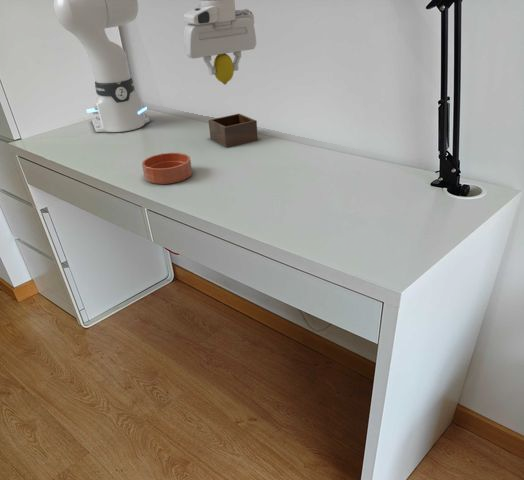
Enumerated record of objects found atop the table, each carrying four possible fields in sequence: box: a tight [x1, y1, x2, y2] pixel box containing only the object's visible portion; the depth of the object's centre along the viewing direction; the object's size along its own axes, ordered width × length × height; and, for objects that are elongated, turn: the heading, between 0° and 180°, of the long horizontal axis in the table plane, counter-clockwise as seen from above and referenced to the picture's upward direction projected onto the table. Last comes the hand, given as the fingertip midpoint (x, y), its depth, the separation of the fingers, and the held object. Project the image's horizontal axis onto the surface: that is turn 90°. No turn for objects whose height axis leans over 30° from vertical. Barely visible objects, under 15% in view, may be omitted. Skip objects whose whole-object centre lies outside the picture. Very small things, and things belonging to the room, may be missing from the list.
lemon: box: [213, 53, 235, 86], centre depth 137 cm, size 6×6×8 cm
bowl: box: [141, 152, 193, 185], centre depth 128 cm, size 12×12×4 cm
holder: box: [208, 113, 259, 148], centre depth 149 cm, size 11×11×6 cm
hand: (223, 72), depth 138 cm, fingers closed on lemon, 5 cm apart
